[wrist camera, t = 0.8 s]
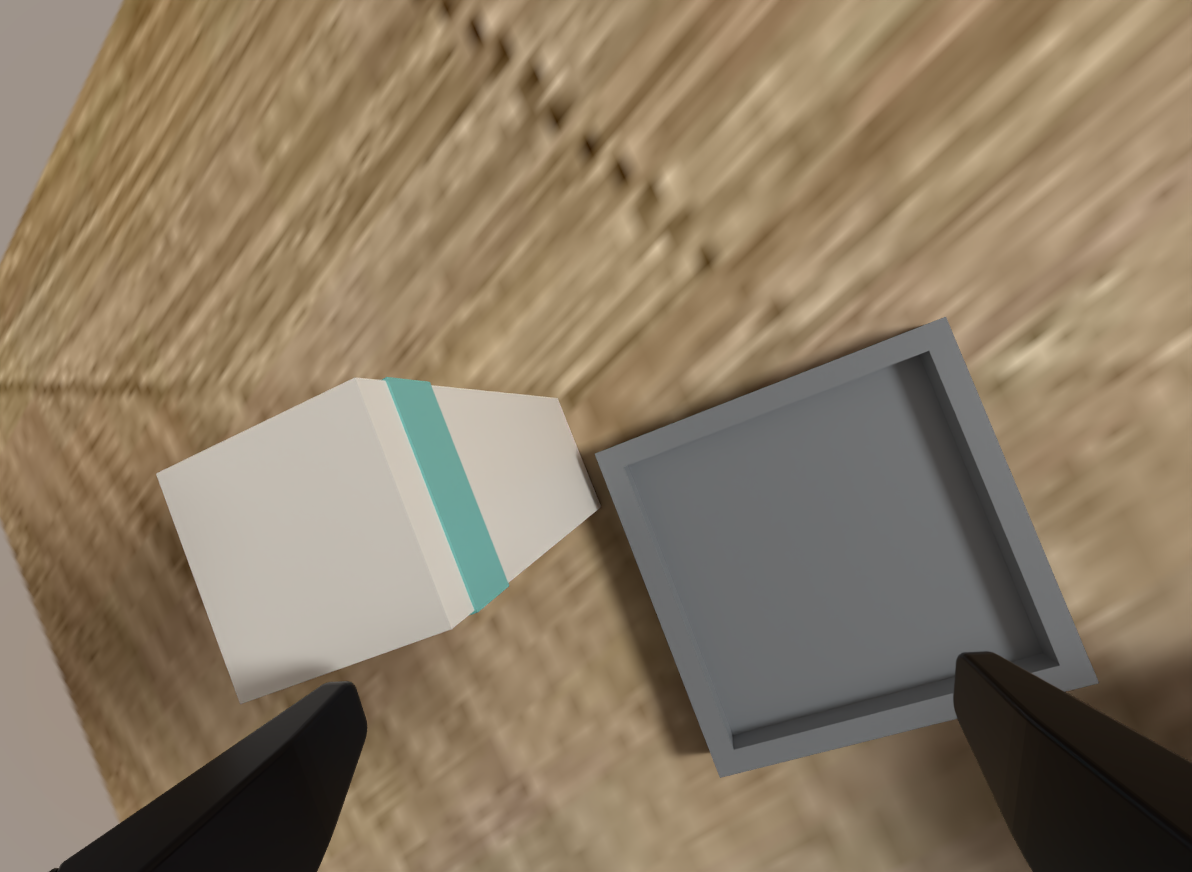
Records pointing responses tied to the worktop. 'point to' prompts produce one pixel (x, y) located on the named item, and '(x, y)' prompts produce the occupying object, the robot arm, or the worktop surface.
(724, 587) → the tray
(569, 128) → the worktop surface
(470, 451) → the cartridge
